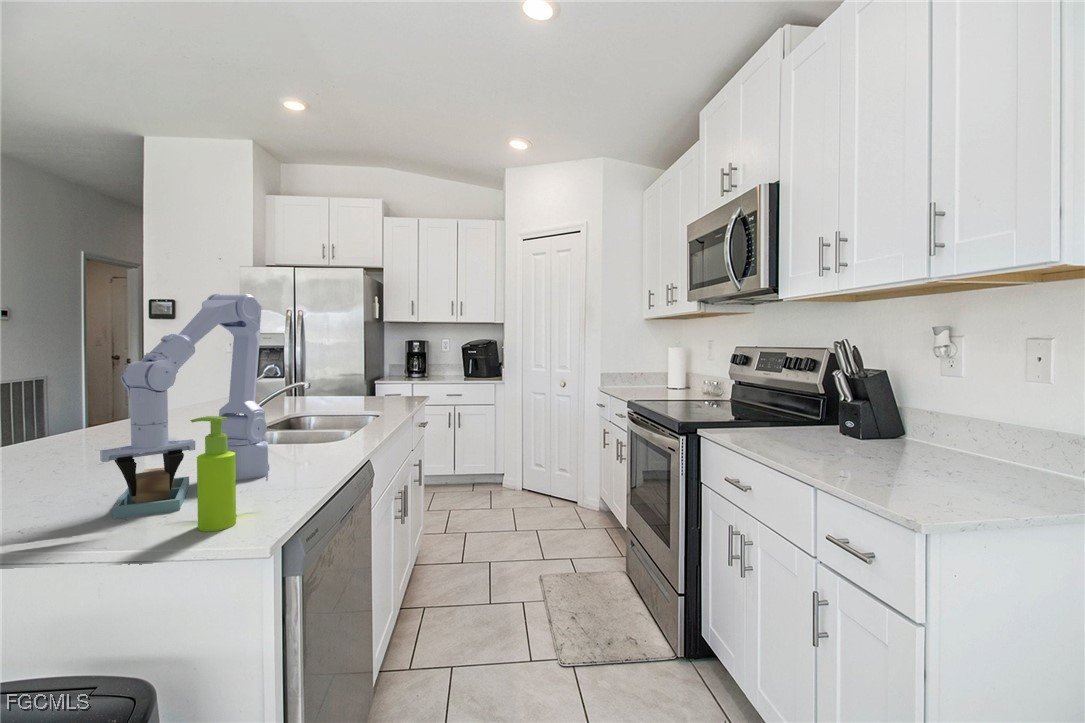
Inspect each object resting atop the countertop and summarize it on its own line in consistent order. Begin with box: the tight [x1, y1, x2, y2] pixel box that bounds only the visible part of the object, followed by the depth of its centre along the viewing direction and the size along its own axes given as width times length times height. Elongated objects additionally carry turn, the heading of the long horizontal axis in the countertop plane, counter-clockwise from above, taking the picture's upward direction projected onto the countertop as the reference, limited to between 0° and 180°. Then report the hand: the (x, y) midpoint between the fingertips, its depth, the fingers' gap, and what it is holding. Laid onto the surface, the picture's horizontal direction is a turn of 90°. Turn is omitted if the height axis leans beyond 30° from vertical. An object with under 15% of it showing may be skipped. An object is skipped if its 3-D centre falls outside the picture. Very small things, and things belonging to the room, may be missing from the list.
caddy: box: [111, 476, 190, 520], centre depth 102 cm, size 10×18×3 cm, turn 30°
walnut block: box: [132, 470, 170, 504], centre depth 98 cm, size 5×5×5 cm
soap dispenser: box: [189, 415, 237, 532], centre depth 92 cm, size 6×7×20 cm
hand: (151, 492), depth 98 cm, fingers closed on walnut block, 5 cm apart
